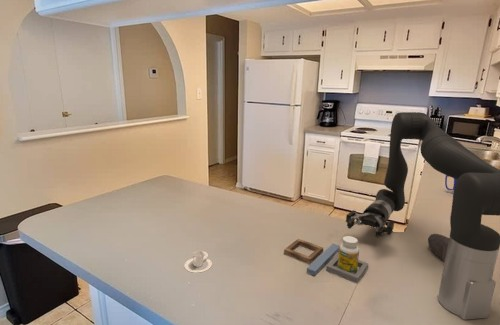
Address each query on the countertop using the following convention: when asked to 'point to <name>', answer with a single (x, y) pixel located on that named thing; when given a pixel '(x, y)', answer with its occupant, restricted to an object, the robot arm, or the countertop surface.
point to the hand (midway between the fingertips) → (362, 229)
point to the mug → (446, 183)
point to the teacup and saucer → (198, 261)
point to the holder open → (345, 274)
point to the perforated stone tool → (438, 245)
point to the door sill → (323, 259)
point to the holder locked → (299, 256)
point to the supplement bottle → (348, 254)
